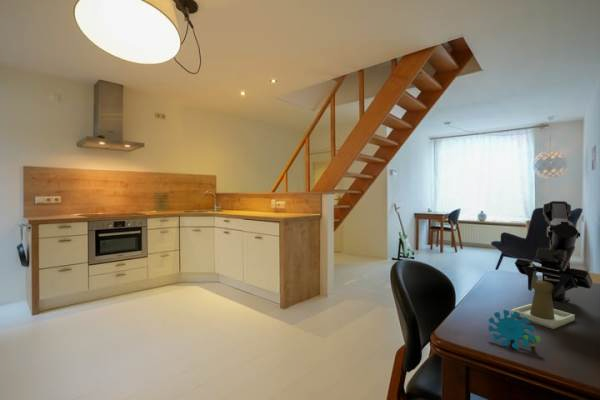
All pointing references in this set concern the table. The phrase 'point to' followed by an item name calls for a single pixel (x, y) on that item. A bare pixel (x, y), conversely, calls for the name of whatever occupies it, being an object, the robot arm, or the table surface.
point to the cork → (542, 300)
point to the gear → (513, 330)
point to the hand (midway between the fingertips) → (541, 293)
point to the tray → (559, 320)
